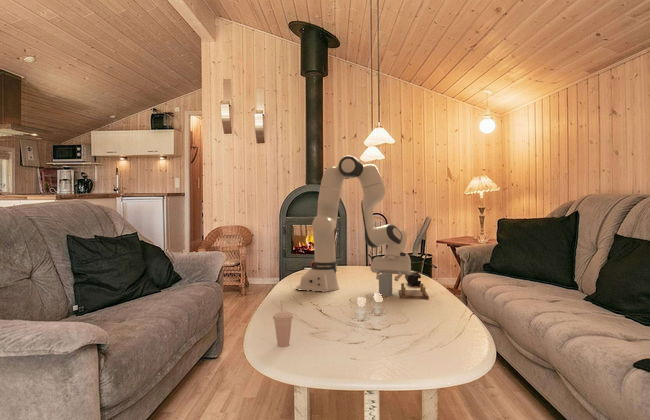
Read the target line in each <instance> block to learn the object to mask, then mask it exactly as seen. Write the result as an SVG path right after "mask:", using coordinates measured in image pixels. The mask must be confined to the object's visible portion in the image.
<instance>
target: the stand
mask: <svg viewBox="0 0 650 420" xmlns="http://www.w3.org/2000/svg"><path fill="white" fill-rule="evenodd" d="M400 287H401V288H400V289H398V296H399V299H422V300H423V299H424V300H427V299H429V297H430V296H429V295H428V292H427V290H426V287H424V283H422V282H421V284H420V287H419V289H406V286H405V283H404V282H401V284H400Z"/></svg>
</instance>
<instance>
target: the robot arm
mask: <svg viewBox="0 0 650 420" xmlns="http://www.w3.org/2000/svg"><path fill="white" fill-rule="evenodd" d="M355 178H356V179H358V180H359V183H360V185H361V189H362V194H363V196H362V200H361V204H360V205H361V206H360V207H361V213H362V214H361V215H362V221H363V226H364V227H363V228H364V241H365V243H366V244H367V245H368V246H369V247H370V248H372V249H375V248H376V249H377V248H378V247H381V246H386V251H385V254H384V256H383V255H382V256H379V255H377V256H375V257H374V258H372V262H371V264H370V267H369V268H370V271H371V272H372V273H375V274H376V276H375V278H376V280H378V281H379V274H382V273H388V274H392V275H396V276H394V278H393V279H394V282H399V279H400V278H402V276H403V275H404V276H405V275H409V274H410V271H411V270H412V265H411V263H412V261H411V257H410V255H409V254H408V253H407V252H404V251H405V249H406V246H407V241H408V237H407V236H408V235H407V233H406V232H405V230H403V229H401V228H399V227H397V226H396V225H395V224H393V223H389V224H384V225H381V226H377V227H376V226H375V220H374V213H373V212H374V209H375V207H376V206H377V205H378V204H379V203H380V202H381V201H382V200H384V197H385V194H386V189H385V185H384V181H383V178H382V176H381V173H380V172H379V169H378V167H377V166H376V165H375V164H373V163H371V164H370V163H368V164H363V163H362V162H361V161H360V160H359V159H358V157H355V156H352V155H345V156H344V157H342V158H341V159H340V160H339V161H338V166H329V167H327V168H325V170H324V172H323V174H322V178H321V181H320V187H319V192H318V199H317V211H316V212H317V213H316V216H315V218H314V219H313V221H312V223H311V227H312V237H313V246H314V247H313V248H314V249H313V250H314V252H313V253H314V260H313V261H311V262H310V269H309V270H308V271H306V272H305V273H304V274H303V275H302V276H301V277H300V280H299V281H300V282H299V284H298V285H297V286H296V287H295V289H296V288H297V289H301V290H312V291H311V292H315V291H322V292H321V293H326V292H331V291H336V290H339V288H340V286H339V281H338V276H337V271H338V268H337V267H338V265H337V261H336V260H337V259H336V256H337V255H336V241H335V240H336V239H335V230H336V227H337V221H338V215H339V204H340V198H341V192H342V187H343V182H344V180H348V179H355ZM411 272H412V271H411ZM325 291H326V292H325Z"/></svg>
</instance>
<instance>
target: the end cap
mask: <svg viewBox="0 0 650 420" xmlns="http://www.w3.org/2000/svg"><path fill="white" fill-rule="evenodd" d="M404 279H405V281H406V282H407V284H409V285H410V286H411V287H419V286H420V284H421V283H422V281H421V280H419V279H422V275H421V273H419V272H418V271H417V272H416V271H413V272H412V271H410V274H409V275H404ZM419 288H420V287H419Z"/></svg>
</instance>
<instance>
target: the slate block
mask: <svg viewBox="0 0 650 420" xmlns="http://www.w3.org/2000/svg"><path fill="white" fill-rule="evenodd" d="M378 275H379V280H378V294H379V293H380V294H382V295H386V296H385V297H390V296H392V295H393V274H388V273H380V274H378Z"/></svg>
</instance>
